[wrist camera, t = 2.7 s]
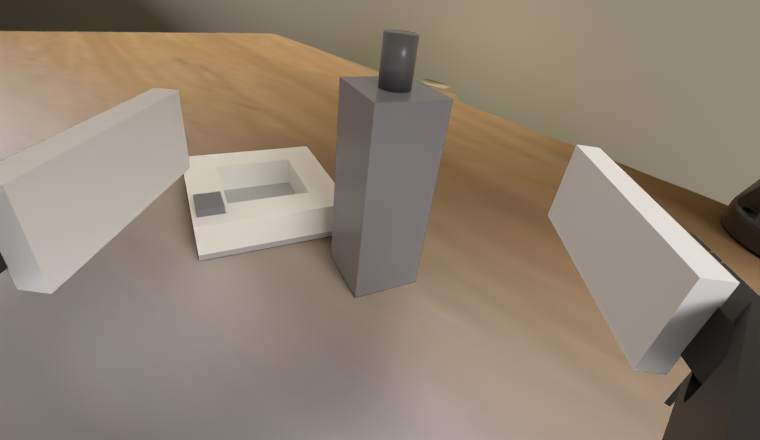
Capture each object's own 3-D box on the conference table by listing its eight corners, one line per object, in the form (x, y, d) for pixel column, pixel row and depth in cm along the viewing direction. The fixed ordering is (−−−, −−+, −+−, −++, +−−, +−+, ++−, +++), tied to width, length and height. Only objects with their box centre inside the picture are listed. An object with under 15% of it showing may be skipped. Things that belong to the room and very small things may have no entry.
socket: (306, 171, 44) (306, 140, 42) (348, 232, 35) (350, 197, 33) (185, 185, 39) (179, 151, 37) (199, 260, 30) (192, 221, 28)
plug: (386, 244, 34) (417, 26, 25) (415, 281, 31) (464, 43, 21) (330, 255, 32) (342, 23, 23) (355, 297, 28) (380, 41, 19)
